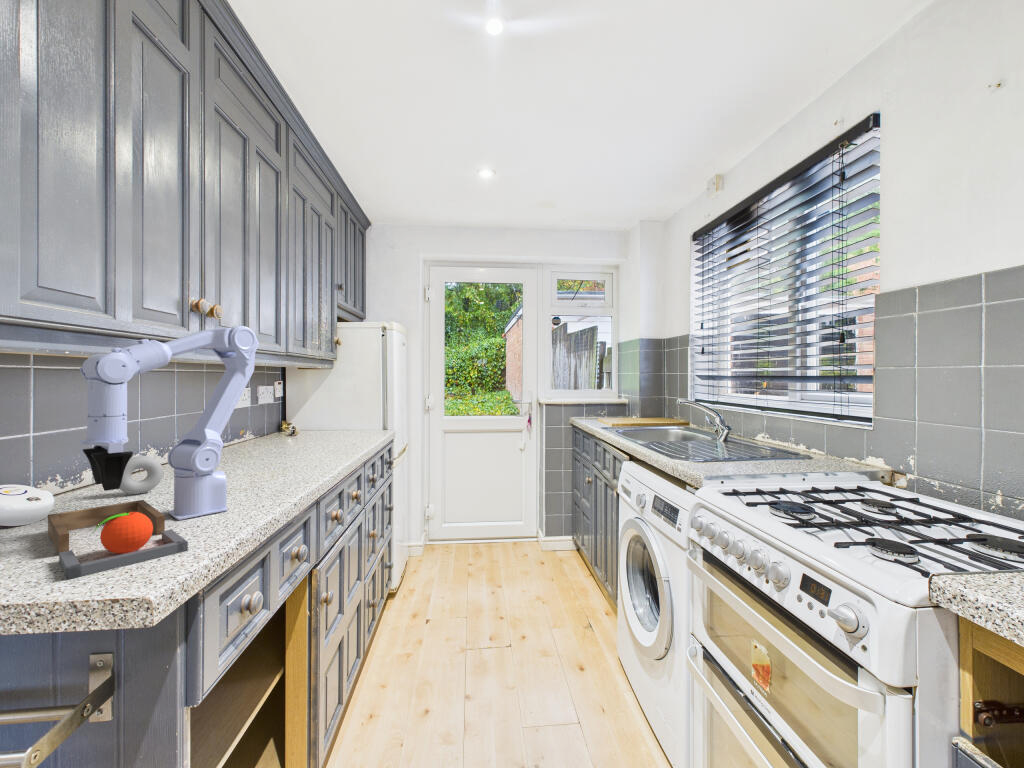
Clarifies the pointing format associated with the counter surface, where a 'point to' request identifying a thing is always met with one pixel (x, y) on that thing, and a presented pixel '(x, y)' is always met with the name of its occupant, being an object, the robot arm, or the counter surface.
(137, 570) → the counter surface
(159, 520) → the brown wooden frame
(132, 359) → the robot arm
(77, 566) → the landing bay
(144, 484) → the donut
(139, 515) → the clementine
